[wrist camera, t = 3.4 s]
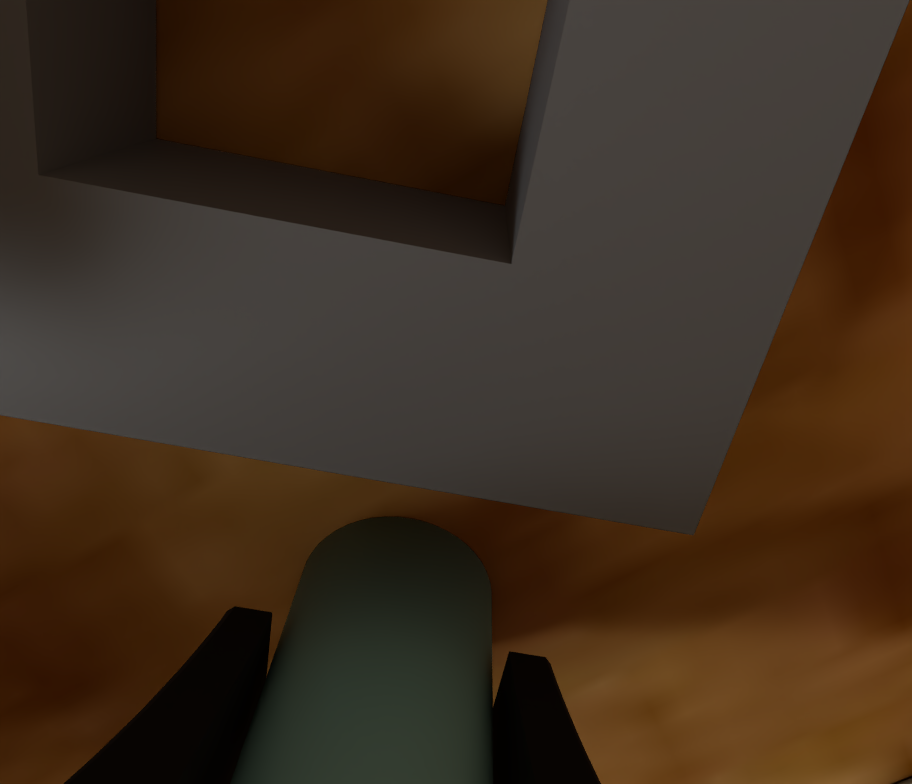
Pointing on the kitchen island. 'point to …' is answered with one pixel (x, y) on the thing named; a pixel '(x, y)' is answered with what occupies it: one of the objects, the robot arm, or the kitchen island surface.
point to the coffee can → (906, 781)
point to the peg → (380, 665)
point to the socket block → (435, 258)
